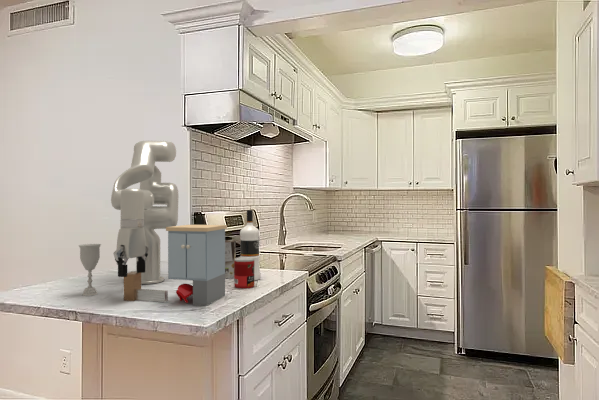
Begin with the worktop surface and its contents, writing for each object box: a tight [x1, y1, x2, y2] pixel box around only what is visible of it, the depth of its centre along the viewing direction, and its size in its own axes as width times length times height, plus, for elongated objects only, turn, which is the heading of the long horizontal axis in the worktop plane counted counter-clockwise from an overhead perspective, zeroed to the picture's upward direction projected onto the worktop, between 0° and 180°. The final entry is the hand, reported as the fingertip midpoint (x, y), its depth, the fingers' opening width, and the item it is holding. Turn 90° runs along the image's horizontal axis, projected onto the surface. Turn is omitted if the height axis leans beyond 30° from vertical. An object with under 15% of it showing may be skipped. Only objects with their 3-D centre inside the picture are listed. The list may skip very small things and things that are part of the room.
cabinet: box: [165, 224, 228, 306], centre depth 136 cm, size 15×16×25 cm
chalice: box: [78, 243, 102, 297], centre depth 145 cm, size 7×7×18 cm
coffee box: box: [225, 239, 237, 279], centre depth 178 cm, size 9×6×16 cm
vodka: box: [239, 209, 262, 282], centre depth 172 cm, size 9×9×30 cm
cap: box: [175, 283, 193, 304], centre depth 135 cm, size 8×6×6 cm
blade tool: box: [123, 271, 169, 303], centre depth 136 cm, size 15×4×9 cm, turn 76°
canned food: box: [233, 257, 255, 290], centre depth 157 cm, size 8×8×11 cm
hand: (132, 274), depth 137 cm, fingers open, 9 cm apart
